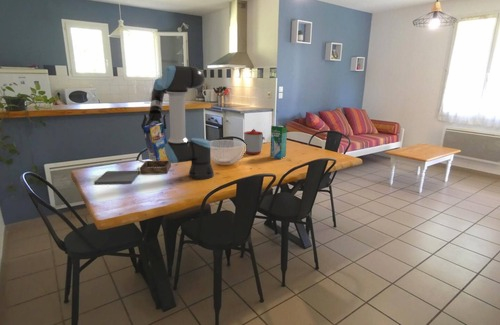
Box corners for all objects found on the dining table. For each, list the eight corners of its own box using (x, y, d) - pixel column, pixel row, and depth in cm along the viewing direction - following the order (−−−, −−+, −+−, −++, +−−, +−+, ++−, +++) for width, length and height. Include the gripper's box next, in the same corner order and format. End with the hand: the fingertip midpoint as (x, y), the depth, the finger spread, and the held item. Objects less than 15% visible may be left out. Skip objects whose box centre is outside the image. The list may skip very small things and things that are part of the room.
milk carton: (285, 157, 232) (287, 125, 225) (280, 159, 225) (282, 126, 218) (275, 155, 237) (276, 124, 230) (270, 157, 230) (271, 125, 223)
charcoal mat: (140, 172, 188) (139, 170, 188) (131, 183, 169) (131, 181, 168) (107, 173, 186) (106, 171, 185) (94, 184, 167) (94, 181, 166)
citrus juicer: (265, 155, 235) (265, 130, 229) (243, 155, 235) (243, 130, 230) (264, 151, 250) (265, 127, 244) (243, 150, 250) (244, 127, 245)
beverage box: (169, 155, 197) (163, 123, 188) (156, 161, 188) (149, 127, 180) (162, 154, 200) (156, 122, 192) (149, 159, 192) (142, 126, 183)
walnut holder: (171, 166, 203) (170, 160, 202) (167, 173, 188) (166, 167, 187) (146, 166, 202) (145, 160, 201) (140, 173, 186) (139, 167, 185)
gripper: (172, 112, 201) (170, 140, 190) (141, 112, 199) (137, 140, 188) (171, 105, 194) (168, 133, 183) (138, 105, 192) (134, 133, 181)
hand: (152, 137), depth 185 cm, fingers closed on beverage box, 8 cm apart
